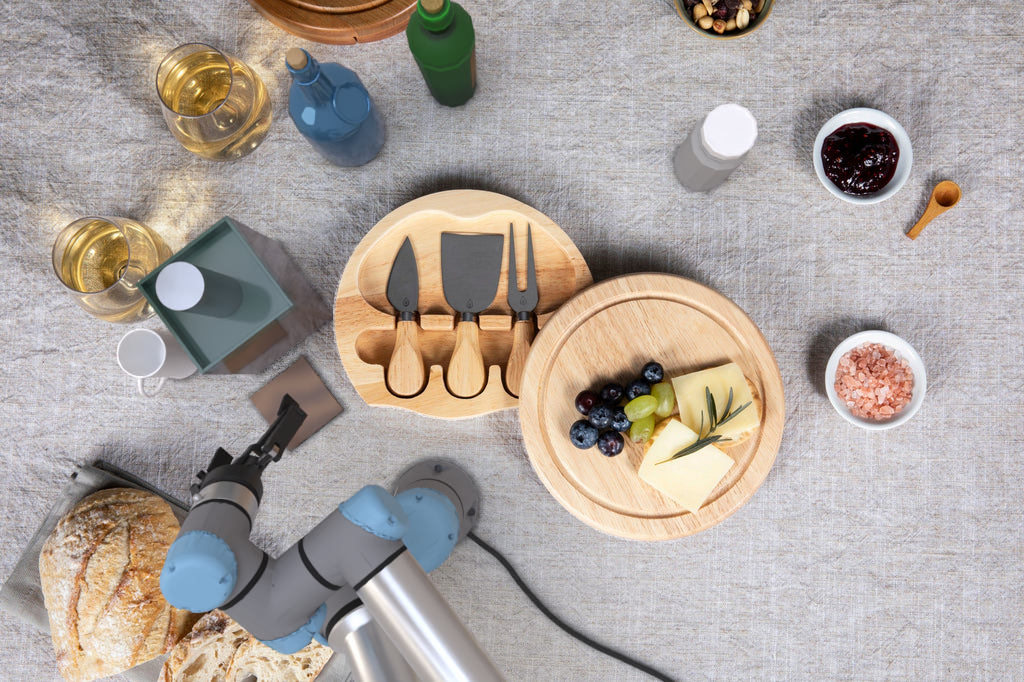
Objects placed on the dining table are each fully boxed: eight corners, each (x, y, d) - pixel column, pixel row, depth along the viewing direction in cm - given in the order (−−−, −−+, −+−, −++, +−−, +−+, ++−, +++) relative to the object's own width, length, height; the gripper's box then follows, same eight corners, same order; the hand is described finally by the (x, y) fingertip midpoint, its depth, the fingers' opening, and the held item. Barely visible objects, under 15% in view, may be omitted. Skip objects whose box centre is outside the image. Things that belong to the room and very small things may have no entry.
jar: (722, 196, 119) (758, 165, 101) (668, 188, 119) (694, 155, 101) (730, 143, 119) (767, 103, 101) (676, 135, 119) (703, 93, 101)
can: (250, 300, 101) (214, 290, 89) (216, 326, 101) (174, 320, 89) (225, 265, 101) (185, 251, 89) (190, 292, 101) (145, 281, 89)
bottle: (493, 75, 121) (484, -14, 93) (462, 125, 120) (443, 50, 92) (444, 45, 121) (420, -53, 93) (412, 94, 121) (379, 11, 93)
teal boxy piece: (333, 316, 119) (293, 304, 98) (257, 374, 119) (201, 374, 98) (277, 242, 120) (226, 214, 99) (202, 299, 120) (134, 284, 99)
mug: (188, 402, 119) (150, 405, 107) (143, 387, 119) (101, 389, 107) (209, 339, 119) (174, 335, 107) (164, 325, 119) (124, 319, 107)
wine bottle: (306, 160, 120) (235, 91, 90) (325, 91, 121) (260, -2, 91) (379, 178, 120) (332, 113, 90) (397, 108, 121) (356, 20, 91)
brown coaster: (344, 410, 118) (343, 410, 118) (290, 451, 118) (289, 451, 117) (304, 356, 119) (303, 356, 118) (250, 397, 119) (249, 397, 118)
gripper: (280, 424, 81) (302, 361, 101) (129, 544, 83) (179, 459, 103) (323, 464, 84) (336, 394, 103) (176, 579, 86) (216, 490, 105)
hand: (258, 426), depth 103 cm, fingers open, 13 cm apart
